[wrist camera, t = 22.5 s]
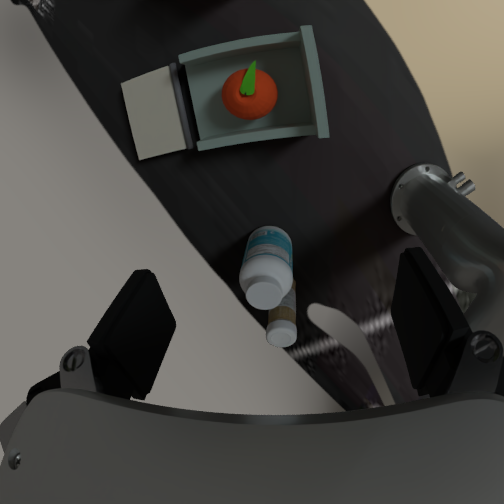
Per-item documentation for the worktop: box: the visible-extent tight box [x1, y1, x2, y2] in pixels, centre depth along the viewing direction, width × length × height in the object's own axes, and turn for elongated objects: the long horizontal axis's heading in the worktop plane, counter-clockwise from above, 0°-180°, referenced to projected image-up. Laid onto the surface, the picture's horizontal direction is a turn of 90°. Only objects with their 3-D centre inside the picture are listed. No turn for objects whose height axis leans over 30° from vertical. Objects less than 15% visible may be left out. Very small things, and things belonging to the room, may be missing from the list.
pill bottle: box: [239, 226, 293, 310], centre depth 41 cm, size 8×7×14 cm
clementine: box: [221, 60, 278, 120], centre depth 30 cm, size 8×7×7 cm
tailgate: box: [121, 63, 194, 160], centre depth 35 cm, size 1×13×9 cm
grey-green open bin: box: [178, 25, 329, 151], centre depth 30 cm, size 17×13×9 cm
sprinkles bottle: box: [266, 279, 297, 347], centre depth 45 cm, size 5×5×14 cm
